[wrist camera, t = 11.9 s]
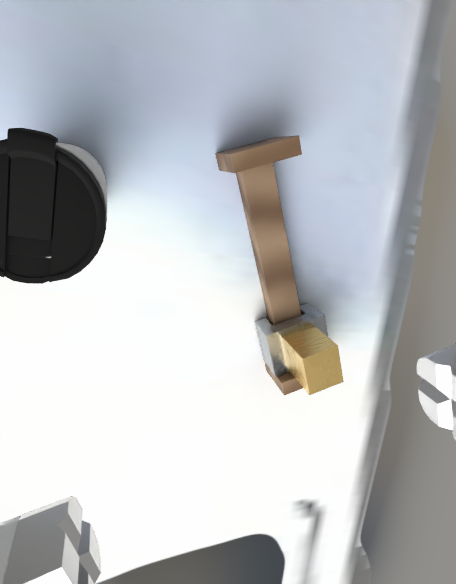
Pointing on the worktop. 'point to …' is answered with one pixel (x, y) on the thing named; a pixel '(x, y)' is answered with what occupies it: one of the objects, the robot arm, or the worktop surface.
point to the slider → (301, 350)
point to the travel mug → (48, 207)
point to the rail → (267, 228)
